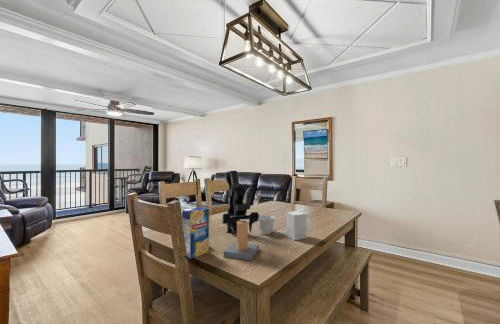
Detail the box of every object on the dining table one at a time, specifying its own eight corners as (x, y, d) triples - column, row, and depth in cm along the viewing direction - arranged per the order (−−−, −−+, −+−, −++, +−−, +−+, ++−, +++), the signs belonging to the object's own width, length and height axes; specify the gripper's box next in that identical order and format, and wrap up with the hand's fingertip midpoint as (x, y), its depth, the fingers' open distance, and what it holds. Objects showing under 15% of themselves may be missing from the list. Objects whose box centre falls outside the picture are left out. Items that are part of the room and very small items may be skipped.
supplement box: (307, 238, 137) (307, 213, 137) (294, 240, 133) (294, 215, 133) (298, 234, 145) (298, 210, 145) (286, 236, 142) (286, 211, 142)
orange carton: (236, 246, 117) (236, 221, 117) (245, 245, 118) (245, 220, 118) (238, 250, 113) (238, 223, 113) (247, 249, 114) (247, 223, 114)
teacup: (275, 229, 156) (275, 214, 156) (275, 236, 141) (275, 220, 141) (257, 228, 157) (257, 213, 157) (256, 235, 142) (256, 219, 142)
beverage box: (182, 254, 113) (182, 210, 113) (200, 248, 121) (200, 206, 121) (190, 258, 108) (190, 212, 108) (208, 252, 116) (209, 208, 116)
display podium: (223, 256, 111) (223, 251, 111) (234, 246, 124) (234, 241, 124) (251, 260, 107) (251, 255, 107) (259, 249, 120) (259, 244, 120)
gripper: (222, 198, 117) (225, 225, 107) (258, 196, 121) (263, 223, 111) (221, 210, 125) (223, 237, 114) (254, 208, 129) (259, 234, 118)
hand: (242, 232), depth 114 cm, fingers open, 8 cm apart
